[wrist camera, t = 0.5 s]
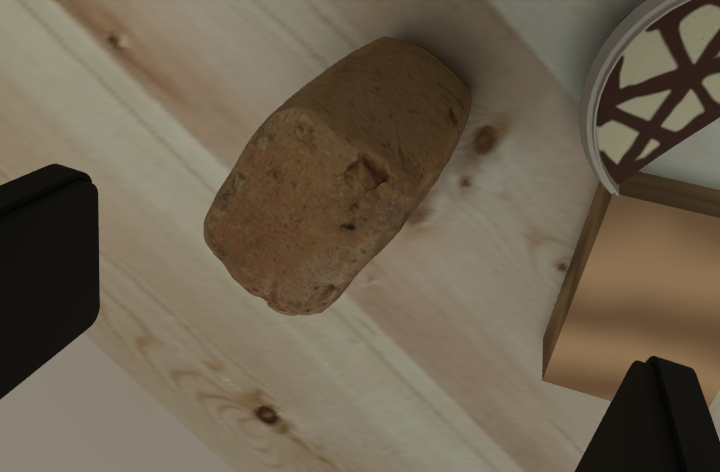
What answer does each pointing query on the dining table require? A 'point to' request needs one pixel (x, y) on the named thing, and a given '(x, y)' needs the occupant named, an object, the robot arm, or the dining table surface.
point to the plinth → (640, 288)
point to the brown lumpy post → (336, 174)
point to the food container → (650, 86)
